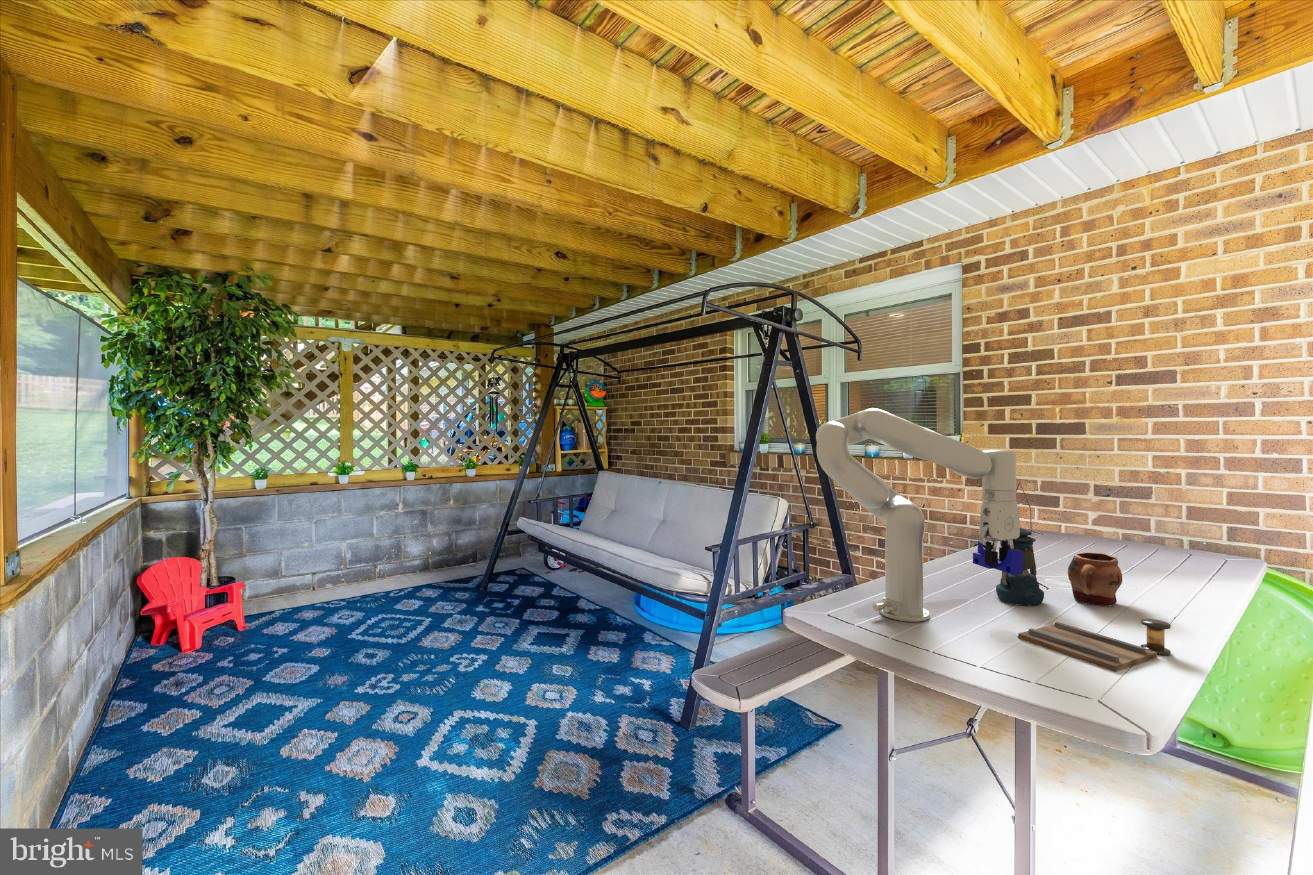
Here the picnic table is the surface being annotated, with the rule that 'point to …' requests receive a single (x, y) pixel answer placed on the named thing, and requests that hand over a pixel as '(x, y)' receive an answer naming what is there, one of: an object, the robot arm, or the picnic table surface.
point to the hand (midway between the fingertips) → (998, 563)
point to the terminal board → (1088, 646)
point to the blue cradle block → (1009, 565)
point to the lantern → (1022, 575)
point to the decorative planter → (1095, 578)
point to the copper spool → (1156, 636)
